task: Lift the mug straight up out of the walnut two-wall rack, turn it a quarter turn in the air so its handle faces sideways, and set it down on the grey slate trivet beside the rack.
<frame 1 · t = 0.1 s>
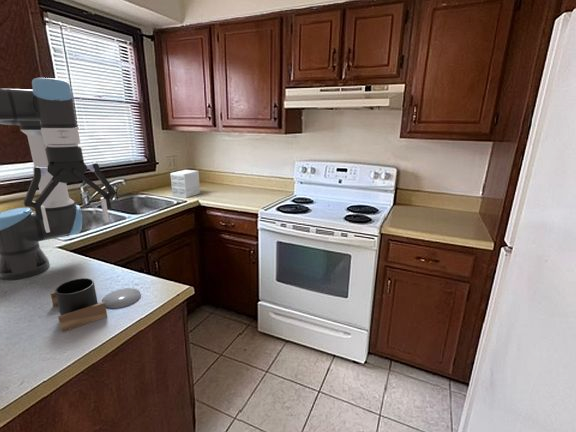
hand: (78, 225, 85), 28 cm above the worktop, tool pointing down, fingers open, 13 cm apart
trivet: (121, 298, 101), on the worktop
mug: (79, 311, 95), on the worktop
rack: (79, 310, 95), on the worktop
supplement box: (186, 195, 242), on the worktop
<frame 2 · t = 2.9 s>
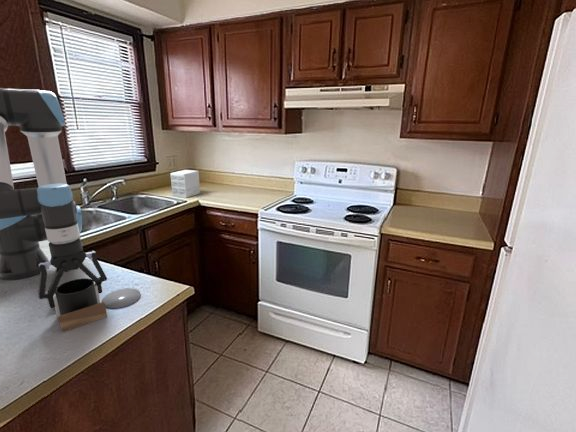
hand: (79, 309, 95), 1 cm above the worktop, tool pointing down, fingers closed on mug, 9 cm apart
mug: (79, 311, 95), on the worktop, touching gripper
everything else where it was.
when the fingers open (2 cm above the worktop, at t = 8.5 s): mug drops 1 cm, resting on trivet.
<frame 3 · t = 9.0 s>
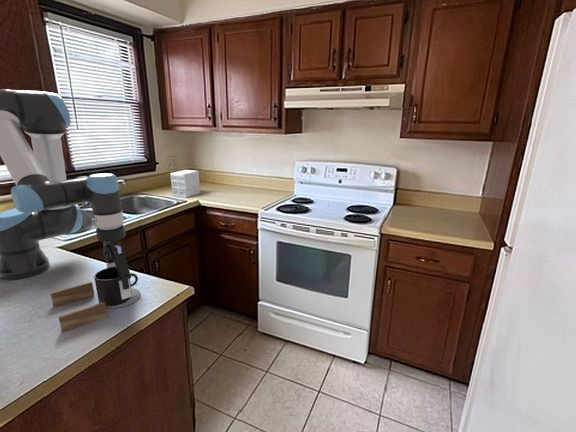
hand: (120, 288, 100), 4 cm above the worktop, tool pointing down, fingers open, 13 cm apart
mug: (120, 297, 101), resting on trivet
everything else where it was.
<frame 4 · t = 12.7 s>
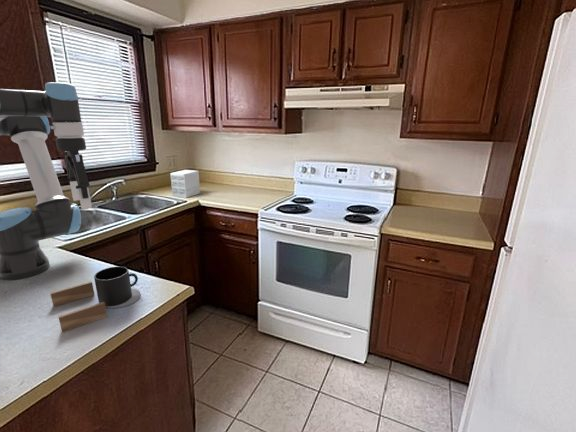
hand: (82, 204, 103), 29 cm above the worktop, tool pointing down, fingers open, 13 cm apart
nothing on the worktop moved.
at the end: mug 0.4 cm from the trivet (horizontally); mug tilted 0°; the gripper is holding nothing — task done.
